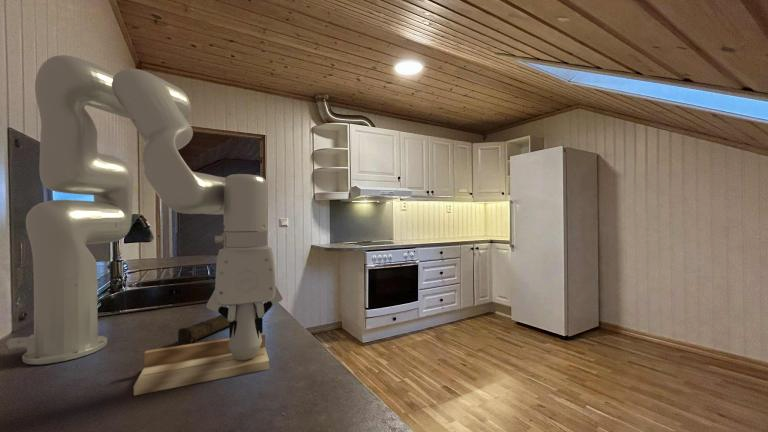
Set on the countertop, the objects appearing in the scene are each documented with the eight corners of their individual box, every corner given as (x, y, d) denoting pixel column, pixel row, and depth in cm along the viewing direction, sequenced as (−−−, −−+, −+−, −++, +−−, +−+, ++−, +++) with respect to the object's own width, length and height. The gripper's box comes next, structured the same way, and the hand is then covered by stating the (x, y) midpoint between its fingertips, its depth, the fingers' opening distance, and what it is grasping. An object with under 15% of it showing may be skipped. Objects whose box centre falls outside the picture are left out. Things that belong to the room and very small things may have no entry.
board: (133, 395, 51) (133, 369, 51) (148, 369, 60) (148, 347, 60) (269, 368, 59) (268, 346, 59) (263, 349, 68) (263, 330, 68)
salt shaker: (228, 365, 57) (228, 291, 57) (227, 353, 62) (227, 284, 62) (263, 358, 60) (263, 287, 60) (260, 347, 65) (260, 282, 65)
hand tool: (189, 347, 70) (189, 326, 70) (176, 345, 72) (176, 324, 72) (253, 321, 88) (253, 304, 88) (242, 320, 89) (242, 303, 89)
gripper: (193, 244, 54) (193, 354, 54) (293, 240, 61) (294, 338, 61) (197, 241, 61) (197, 339, 61) (287, 238, 68) (287, 326, 68)
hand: (246, 338), depth 61 cm, fingers closed on salt shaker, 3 cm apart
